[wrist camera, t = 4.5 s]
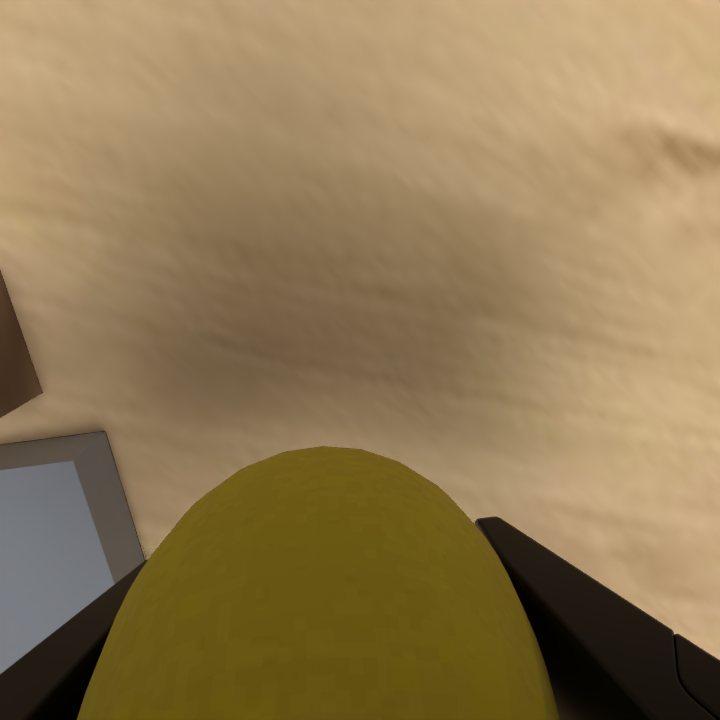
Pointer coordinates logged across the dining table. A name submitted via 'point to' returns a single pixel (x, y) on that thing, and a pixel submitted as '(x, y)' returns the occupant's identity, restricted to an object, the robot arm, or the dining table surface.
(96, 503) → the dish
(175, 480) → the dining table surface
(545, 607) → the robot arm
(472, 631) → the lemon
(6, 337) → the walnut block
